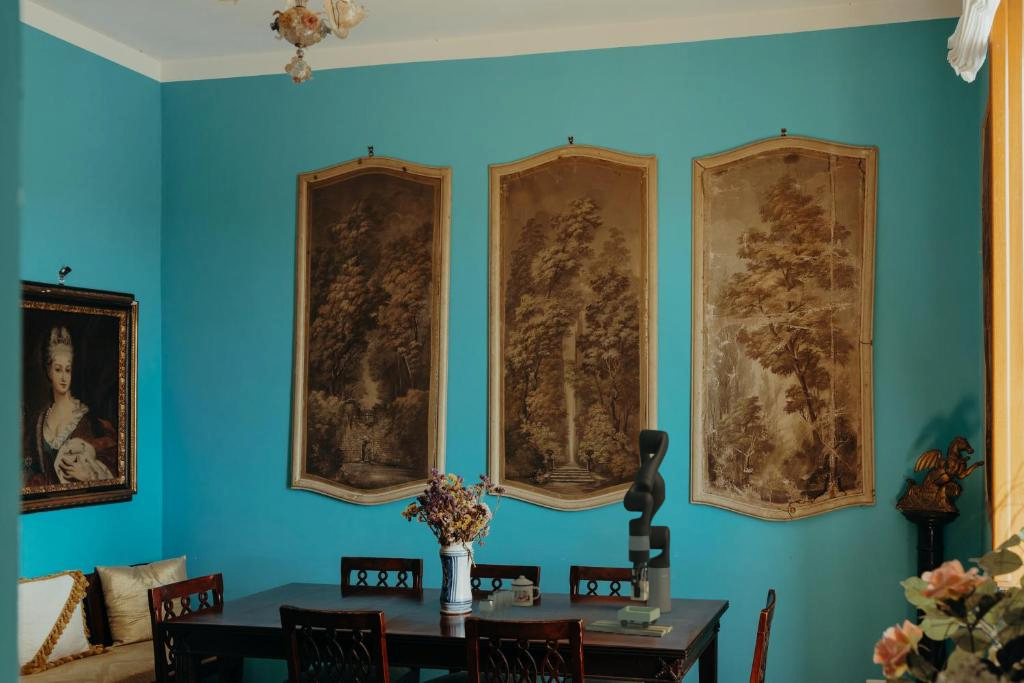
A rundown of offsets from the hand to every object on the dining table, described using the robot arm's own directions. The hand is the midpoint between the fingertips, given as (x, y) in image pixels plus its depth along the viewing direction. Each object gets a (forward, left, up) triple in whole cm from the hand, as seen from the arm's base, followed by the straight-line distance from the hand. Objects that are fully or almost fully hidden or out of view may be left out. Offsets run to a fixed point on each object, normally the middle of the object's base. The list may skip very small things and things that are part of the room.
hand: (639, 596), depth 380 cm
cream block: (0, 0, -1) cm, 1 cm away
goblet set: (+17, -48, -13) cm, 53 cm away
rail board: (0, -4, -12) cm, 13 cm away
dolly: (0, 0, -10) cm, 10 cm away
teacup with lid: (-33, -60, -13) cm, 70 cm away
